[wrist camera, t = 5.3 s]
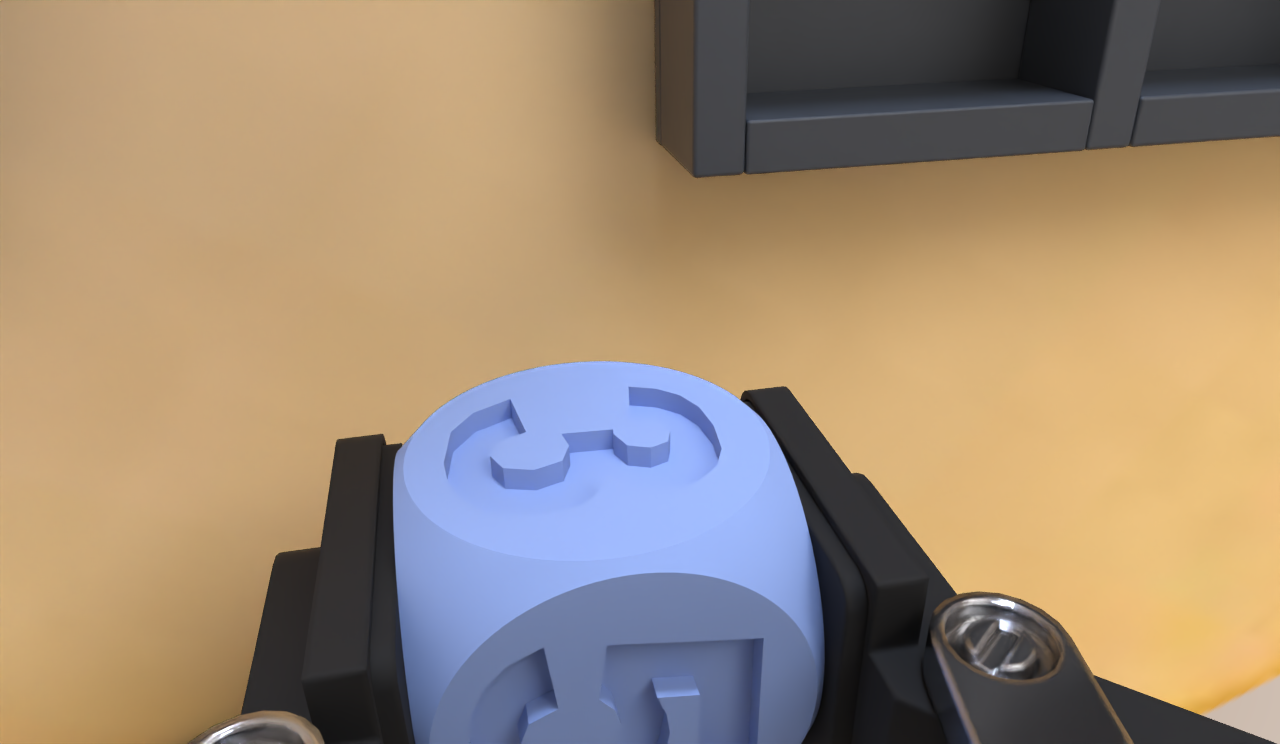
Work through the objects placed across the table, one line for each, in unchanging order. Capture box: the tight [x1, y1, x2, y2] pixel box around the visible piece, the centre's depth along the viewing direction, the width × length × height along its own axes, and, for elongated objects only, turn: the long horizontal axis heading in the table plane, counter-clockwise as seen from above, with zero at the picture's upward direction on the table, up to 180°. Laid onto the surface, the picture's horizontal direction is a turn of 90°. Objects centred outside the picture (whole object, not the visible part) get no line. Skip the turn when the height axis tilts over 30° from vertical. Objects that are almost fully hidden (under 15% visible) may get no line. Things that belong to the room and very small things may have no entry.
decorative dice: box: [393, 361, 825, 744], centre depth 11 cm, size 4×4×4 cm
